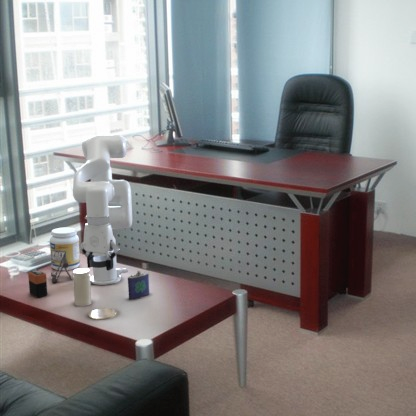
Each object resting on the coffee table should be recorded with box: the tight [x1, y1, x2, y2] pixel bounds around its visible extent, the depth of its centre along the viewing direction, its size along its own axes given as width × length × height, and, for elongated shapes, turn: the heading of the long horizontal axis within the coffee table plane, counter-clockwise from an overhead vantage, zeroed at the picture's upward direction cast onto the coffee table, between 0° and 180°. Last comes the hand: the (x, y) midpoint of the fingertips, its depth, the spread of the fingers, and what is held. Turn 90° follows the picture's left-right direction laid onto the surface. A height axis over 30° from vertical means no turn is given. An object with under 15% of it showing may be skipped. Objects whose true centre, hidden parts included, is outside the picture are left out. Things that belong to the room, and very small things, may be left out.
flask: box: [127, 270, 150, 301], centre depth 263 cm, size 9×3×11 cm, turn 138°
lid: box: [89, 256, 107, 268], centre depth 241 cm, size 7×7×2 cm
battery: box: [27, 268, 48, 299], centre depth 263 cm, size 4×7×10 cm, turn 47°
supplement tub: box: [49, 226, 81, 271], centre depth 296 cm, size 12×12×17 cm
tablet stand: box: [50, 257, 73, 284], centre depth 281 cm, size 9×8×8 cm
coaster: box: [87, 307, 118, 321], centre depth 246 cm, size 10×10×1 cm
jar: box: [72, 268, 92, 307], centre depth 255 cm, size 6×6×13 cm
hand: (100, 267), depth 242 cm, fingers closed on lid, 7 cm apart
